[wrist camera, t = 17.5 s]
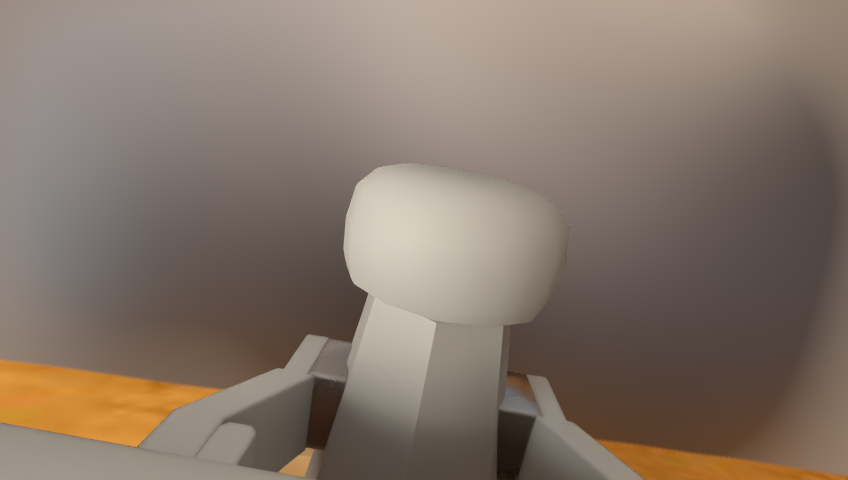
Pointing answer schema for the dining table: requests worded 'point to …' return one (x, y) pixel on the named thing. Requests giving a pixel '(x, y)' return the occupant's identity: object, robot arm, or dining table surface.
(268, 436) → the robot arm
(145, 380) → the dining table surface
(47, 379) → the dining table surface
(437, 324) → the salt shaker
